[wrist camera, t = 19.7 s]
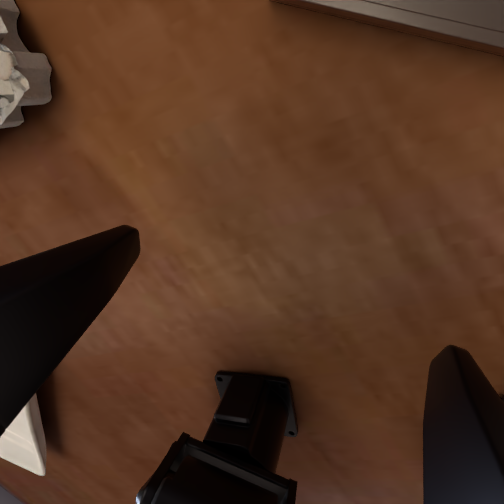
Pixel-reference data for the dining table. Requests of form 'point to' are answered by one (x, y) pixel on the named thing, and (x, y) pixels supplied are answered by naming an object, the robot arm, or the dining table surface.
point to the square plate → (26, 440)
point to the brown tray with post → (425, 18)
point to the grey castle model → (19, 71)
